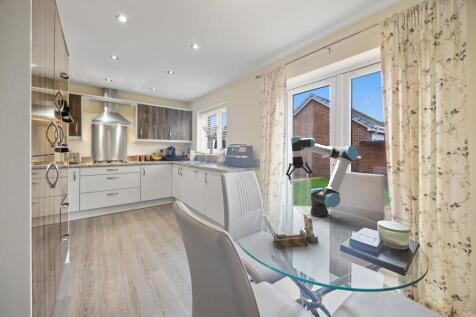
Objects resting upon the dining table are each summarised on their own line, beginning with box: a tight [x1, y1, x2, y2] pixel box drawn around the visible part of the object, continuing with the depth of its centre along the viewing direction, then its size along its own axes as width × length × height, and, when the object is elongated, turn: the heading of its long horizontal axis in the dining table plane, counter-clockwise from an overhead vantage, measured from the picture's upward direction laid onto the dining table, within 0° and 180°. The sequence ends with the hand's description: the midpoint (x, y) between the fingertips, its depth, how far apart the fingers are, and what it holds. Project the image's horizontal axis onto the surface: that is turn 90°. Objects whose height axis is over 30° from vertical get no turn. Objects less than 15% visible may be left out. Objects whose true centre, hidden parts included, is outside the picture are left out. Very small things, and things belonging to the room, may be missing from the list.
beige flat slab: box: [303, 212, 314, 236], centre depth 131 cm, size 11×2×15 cm, turn 178°
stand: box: [301, 226, 319, 244], centre depth 131 cm, size 16×5×4 cm, turn 178°
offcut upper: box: [275, 230, 287, 238], centre depth 130 cm, size 5×5×3 cm
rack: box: [272, 229, 309, 249], centre depth 127 cm, size 19×12×5 cm, turn 88°
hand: (299, 183), depth 155 cm, fingers open, 13 cm apart
